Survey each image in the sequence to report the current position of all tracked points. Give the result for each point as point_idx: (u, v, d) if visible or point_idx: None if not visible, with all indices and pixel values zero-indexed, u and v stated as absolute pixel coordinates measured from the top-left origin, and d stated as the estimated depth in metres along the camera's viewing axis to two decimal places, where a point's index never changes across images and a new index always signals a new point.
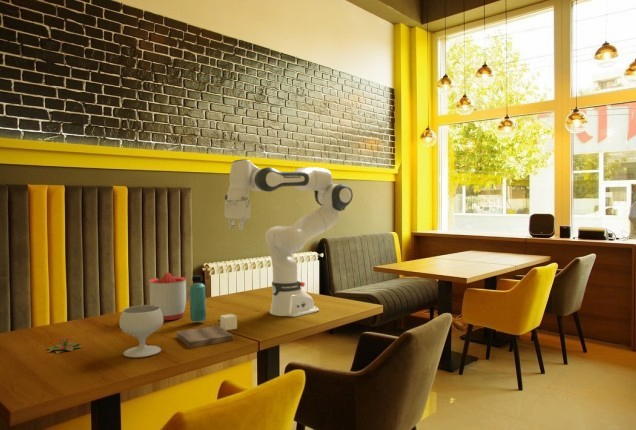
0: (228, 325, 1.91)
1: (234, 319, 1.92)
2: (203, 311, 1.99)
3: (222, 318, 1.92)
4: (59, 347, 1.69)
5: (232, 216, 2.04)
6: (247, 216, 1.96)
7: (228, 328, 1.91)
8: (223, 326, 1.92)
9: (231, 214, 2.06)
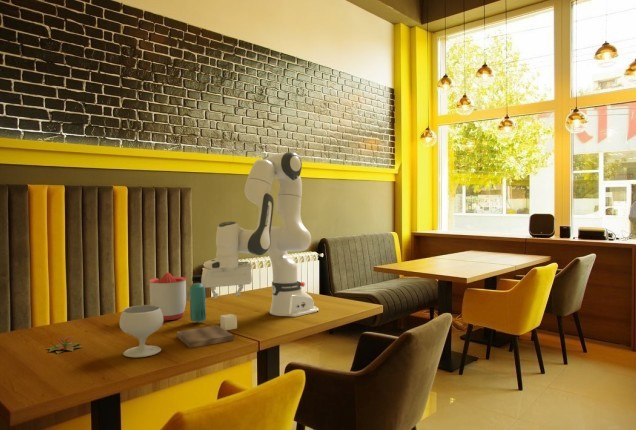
0: (228, 325, 1.91)
1: (234, 319, 1.92)
2: (203, 311, 1.99)
3: (222, 318, 1.92)
4: (59, 347, 1.69)
5: (227, 284, 1.91)
6: None
7: (228, 328, 1.91)
8: (223, 326, 1.92)
9: (223, 282, 1.90)
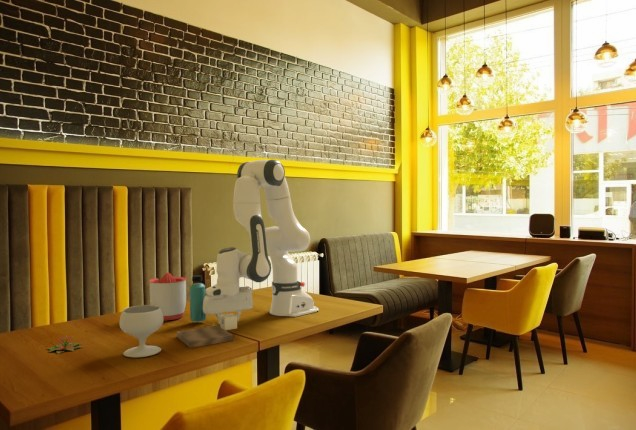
0: (228, 324, 1.91)
1: (234, 319, 1.92)
2: None
3: (222, 318, 1.92)
4: (59, 347, 1.69)
5: (228, 310, 1.91)
6: None
7: (228, 328, 1.91)
8: (223, 326, 1.92)
9: (224, 308, 1.90)
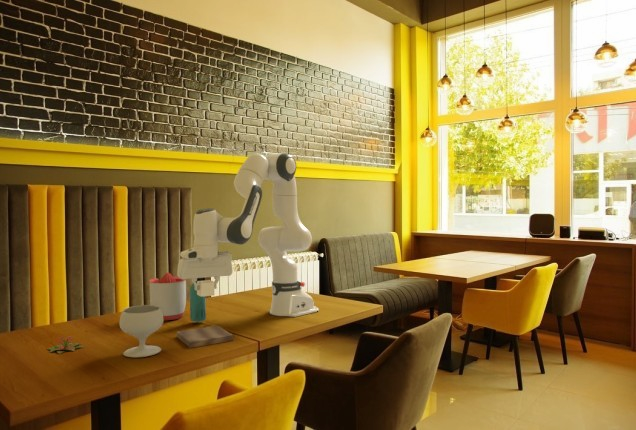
0: (204, 290, 1.77)
1: (212, 285, 1.78)
2: (203, 311, 1.99)
3: (198, 284, 1.79)
4: (60, 347, 1.69)
5: (205, 275, 1.78)
6: None
7: (204, 294, 1.77)
8: (199, 292, 1.78)
9: (200, 273, 1.77)
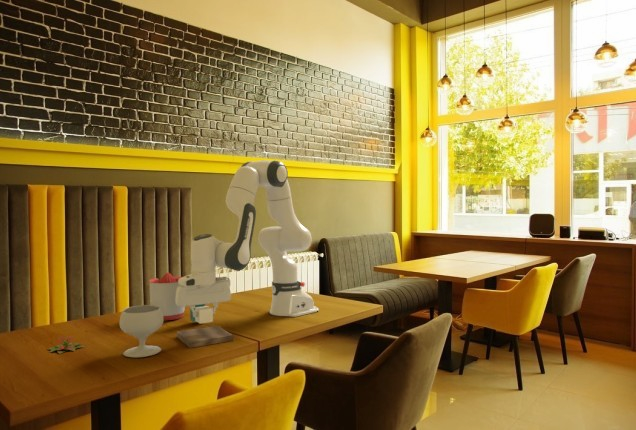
0: (203, 317, 1.76)
1: (210, 312, 1.77)
2: None
3: (197, 310, 1.77)
4: (60, 347, 1.69)
5: (203, 302, 1.77)
6: None
7: (203, 321, 1.76)
8: (198, 319, 1.77)
9: (198, 300, 1.76)
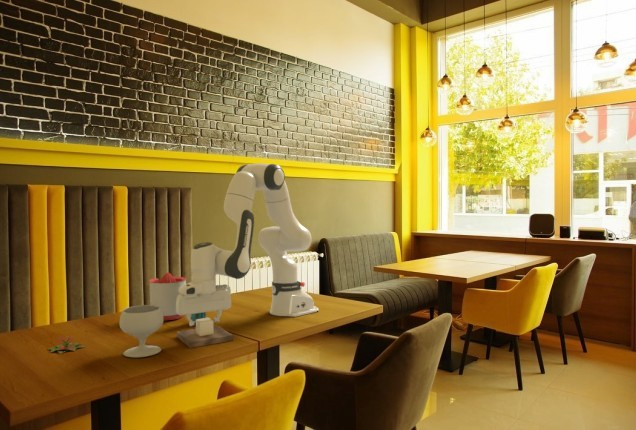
0: (203, 329, 1.76)
1: (211, 324, 1.78)
2: None
3: (197, 322, 1.78)
4: (60, 347, 1.69)
5: (204, 310, 1.77)
6: None
7: (203, 333, 1.76)
8: (198, 331, 1.77)
9: (199, 308, 1.76)
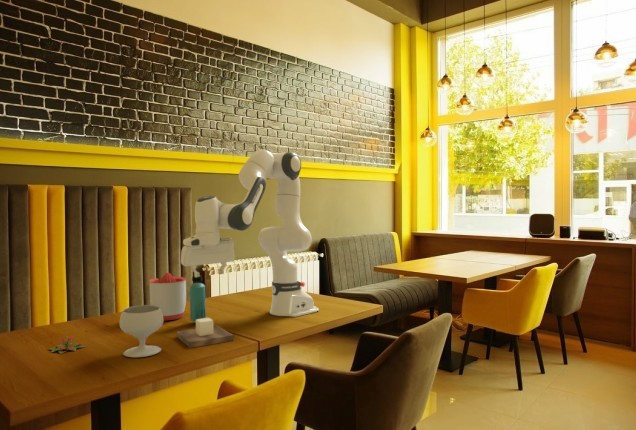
0: (203, 329, 1.76)
1: (211, 324, 1.78)
2: (203, 311, 1.99)
3: (197, 322, 1.78)
4: (61, 347, 1.69)
5: (208, 262, 1.81)
6: None
7: (203, 333, 1.76)
8: (198, 331, 1.77)
9: (204, 260, 1.80)
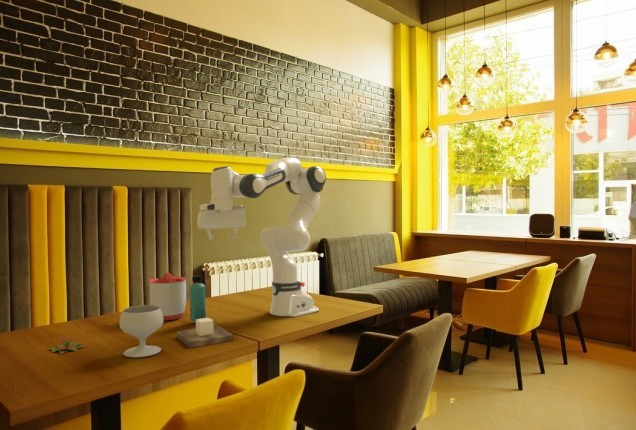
0: (203, 329, 1.76)
1: (211, 324, 1.78)
2: (203, 311, 1.99)
3: (197, 322, 1.78)
4: (61, 347, 1.69)
5: (222, 226, 1.97)
6: None
7: (203, 333, 1.76)
8: (198, 331, 1.77)
9: (218, 224, 1.97)
